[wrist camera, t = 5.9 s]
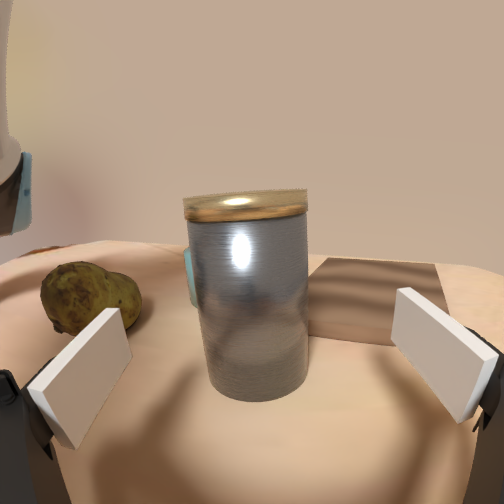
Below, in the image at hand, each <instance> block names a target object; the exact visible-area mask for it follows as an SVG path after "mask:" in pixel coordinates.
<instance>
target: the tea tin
mask: <svg viewBox="0 0 504 504" xmlns="http://www.w3.org/2000/svg"><path fill="white" fill-rule="evenodd" d="M183 204H184V215H185V220H187V227H188V236H189V246H190V254H191V263H192V270H193V278H194V286H195V293H196V300H197V307H198V313H199V320H200V326H201V332H202V339H203V344H204V350H205V356H206V362H207V367H208V373H209V378H210V381H211V384H212V385H213V387H214V388H215V389H216V390H217V391H219V392H220V393H221V394H223V395H225V396H227V397H229V398H232V399H235V400H240V401H246V402H263V401H270V400H274V399H278V398H281V397H283V396H286V395H288V394H290V393H291V392H293V391H294V390H296V389H297V388H298V387H299V386H300V385H301V384H302V383H303V382H304V380H305V378H306V376H307V365H308V246H307V245H308V244H307V217H306V211H308V202H307V189H279V190H259V191H244V192H231V193H220V194H210V195H202V196H194V197H187V198H183Z"/></svg>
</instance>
